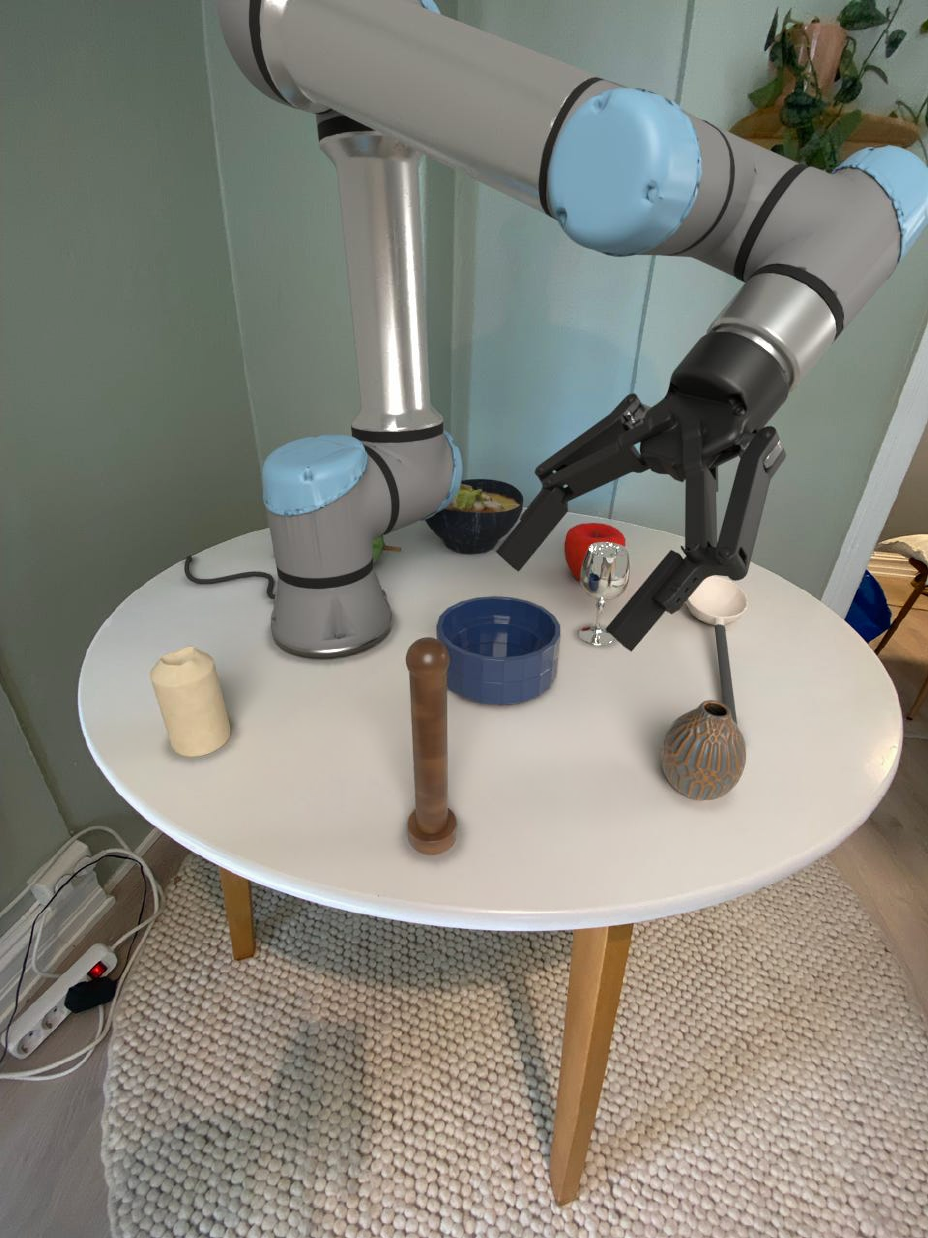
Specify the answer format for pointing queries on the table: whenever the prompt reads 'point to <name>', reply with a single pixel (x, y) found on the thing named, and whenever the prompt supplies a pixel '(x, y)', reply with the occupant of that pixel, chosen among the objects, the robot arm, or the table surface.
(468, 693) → the blue bowl
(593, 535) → the apple
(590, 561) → the wineglass
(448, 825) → the brown wooden post
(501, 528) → the bowl
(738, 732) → the vase
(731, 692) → the ladle
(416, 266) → the robot arm
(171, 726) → the candle
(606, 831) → the table surface
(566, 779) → the table surface
